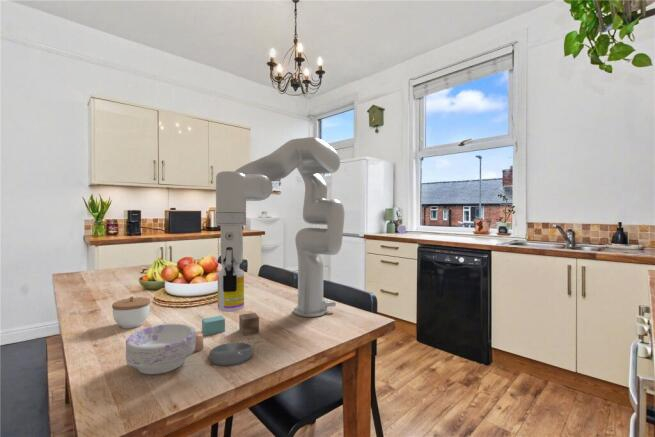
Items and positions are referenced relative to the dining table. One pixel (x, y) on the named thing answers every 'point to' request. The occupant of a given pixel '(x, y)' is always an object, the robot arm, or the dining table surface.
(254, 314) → the walnut cube
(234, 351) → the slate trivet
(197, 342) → the glossy tan egg
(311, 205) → the robot arm
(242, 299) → the supplement bottle
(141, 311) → the lidded jar
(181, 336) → the paper bowls
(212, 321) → the teal block
